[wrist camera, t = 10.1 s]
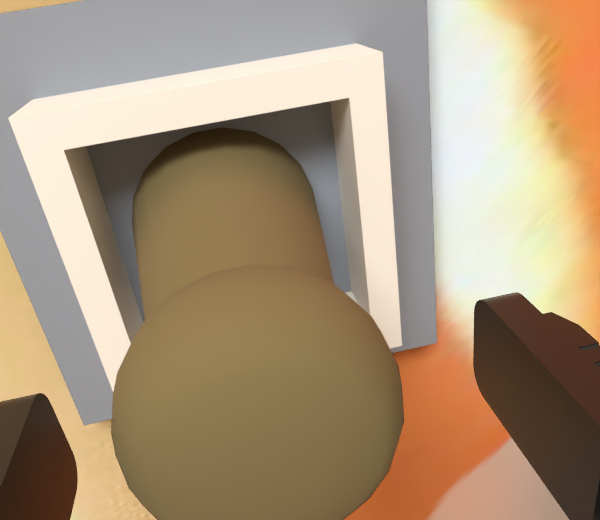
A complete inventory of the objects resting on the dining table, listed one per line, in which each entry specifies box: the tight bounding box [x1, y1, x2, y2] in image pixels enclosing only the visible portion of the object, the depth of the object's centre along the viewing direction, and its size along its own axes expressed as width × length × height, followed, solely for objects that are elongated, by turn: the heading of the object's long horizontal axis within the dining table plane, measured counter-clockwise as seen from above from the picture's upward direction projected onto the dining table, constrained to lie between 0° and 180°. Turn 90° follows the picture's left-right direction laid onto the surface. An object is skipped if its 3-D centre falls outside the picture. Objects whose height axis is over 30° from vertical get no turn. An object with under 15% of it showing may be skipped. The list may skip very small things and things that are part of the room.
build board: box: [0, 0, 437, 425], centre depth 18 cm, size 14×14×4 cm
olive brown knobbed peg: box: [111, 127, 404, 520], centre depth 13 cm, size 6×6×11 cm
